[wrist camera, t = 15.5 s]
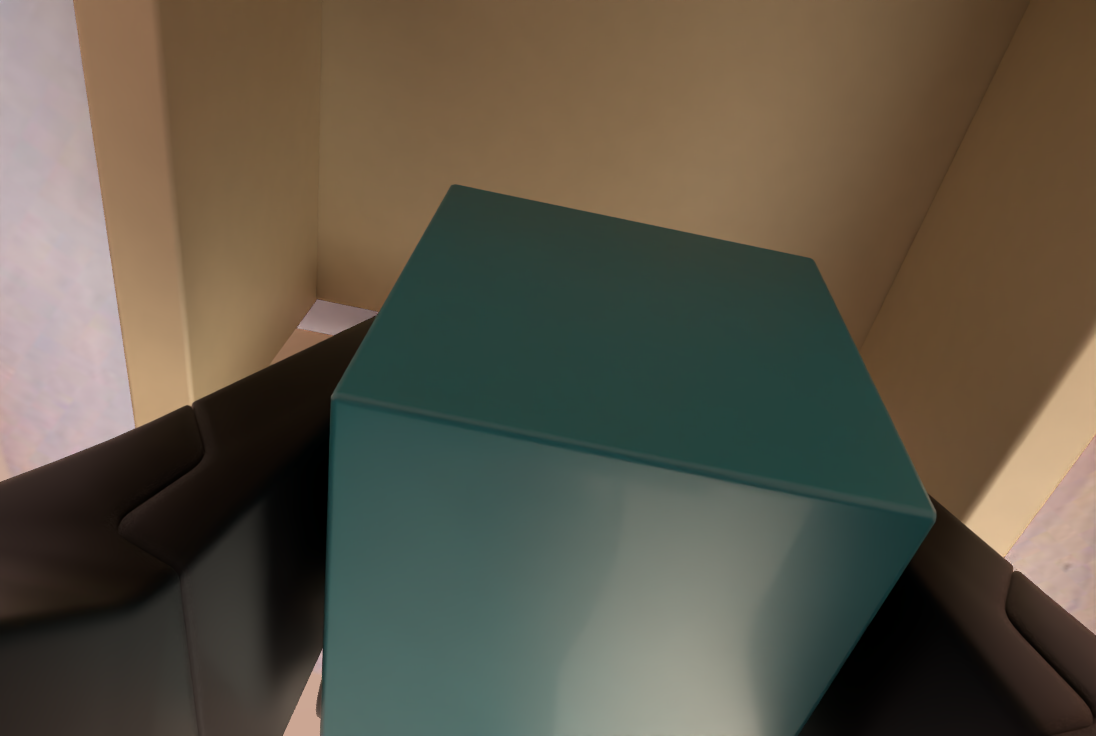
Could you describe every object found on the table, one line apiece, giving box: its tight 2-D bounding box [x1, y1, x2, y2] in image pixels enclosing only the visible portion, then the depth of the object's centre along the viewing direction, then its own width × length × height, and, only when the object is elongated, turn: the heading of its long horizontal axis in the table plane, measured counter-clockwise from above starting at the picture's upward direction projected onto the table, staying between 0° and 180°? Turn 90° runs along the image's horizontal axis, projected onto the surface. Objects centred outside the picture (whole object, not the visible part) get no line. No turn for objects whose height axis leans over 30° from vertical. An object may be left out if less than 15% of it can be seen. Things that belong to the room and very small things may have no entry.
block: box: [320, 184, 936, 736], centre depth 8 cm, size 4×4×4 cm
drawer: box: [73, 0, 1096, 718], centre depth 11 cm, size 20×13×6 cm, turn 170°
